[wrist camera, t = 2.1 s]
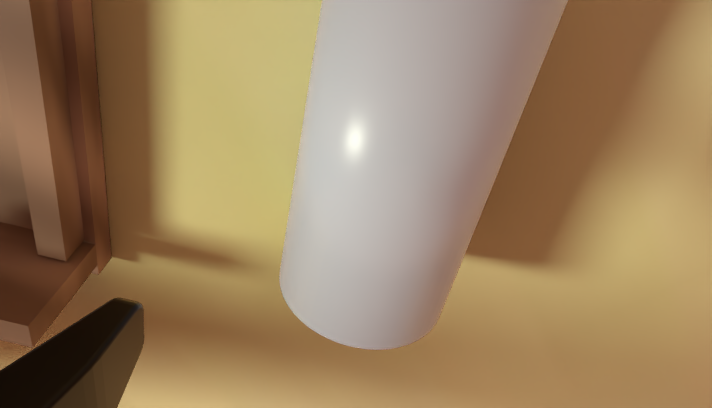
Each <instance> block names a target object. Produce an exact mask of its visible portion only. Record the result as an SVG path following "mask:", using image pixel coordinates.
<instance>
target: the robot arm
mask: <svg viewBox="0 0 712 408" xmlns="http://www.w3.org/2000/svg"><path fill="white" fill-rule="evenodd" d="M143 343H144V311H143V306H142V304H141V303H139V302H136V301H132V300H128V299H123V298H114V299H112V300H110V301H109V302H107V303H105V304H104V305H102V306H101V307H99V308H98V309H96V310H94V311H93V312H91V313H90V314H88V315H87V316H85V317H83V318H82V319H80V320H79V321H77V322H76V323H74V324H73V325H71V326H69V327H68V328H66V329H65V330H63V331H62V332H60V333H58V334H57V335H55V336H54V337H52V338H51V339H49V340H47V341H46V342H44V343H43V344H41V345H40V346H38V347H37V348H35V349H33V350H32V351H30V352H29V353H27V354H26V355H24V356H22V357H21V358H19V359H18V360H16V361H15V362H13V363H11V364H10V365H8V366H7V367H5V368H4V369H2V370H1V371H0V408H117V407H118V404H119V402H120V400H121V397H122V395H123V393H124V390H125V388H126V386H127V383H128V381H129V379H130V376H131V374H132V372H133V369H134V367H135V365H136V362H137V360H138V358H139V355H140V353H141V350H142V347H143Z"/></svg>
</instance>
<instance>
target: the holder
mask: <svg viewBox="0 0 712 408" xmlns="http://www.w3.org/2000/svg"><path fill="white" fill-rule="evenodd" d="M110 259H111V245H110V233H109V220H108V207H107V195H106V182H105V169H104V157H103V144H102V131H101V119H100V106H99V93H98V80H97V68H96V55H95V42H94V30H93V17H92V4H91V0H0V340H2V341H7V342H11V343H15V344H19V345H23V346H28V347H32V348H33V347H34V345H35V344H36V343H37V342H38V340H39V339H40V338H41V336H42V335H43V334H44V333H45V331H46V330H47V329H48V328H49V326H50V325H51V324H52V322H53V321H54V320H55V319H56V317H57V316H58V315H59V313H60V312H61V311H62V310H63V308H64V307H65V306H66V305H67V303H68V302H69V301H70V299H71V298H72V297H73V296H74V294H75V293H76V292H77V291H78V289H79V288H80V287H81V285H82V284H83V283H84V282H85V280H86V279H87V278H88V276H89V275H90V274H91V273H94V274H98V275H99V273H100V272H101V271H102V269H103V268H104V267H105V266H106V264H107V263H108V262H109V260H110Z"/></svg>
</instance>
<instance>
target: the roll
mask: <svg viewBox="0 0 712 408" xmlns="http://www.w3.org/2000/svg"><path fill="white" fill-rule="evenodd" d="M567 2H568V0H322V4H321V10H320V17H319V23H318V30H317V36H316V42H315V49H314V55H313V62H312V68H311V74H310V81H309V87H308V94H307V100H306V107H305V113H304V119H303V126H302V132H301V139H300V145H299V151H298V158H297V164H296V171H295V177H294V184H293V190H292V196H291V203H290V209H289V216H288V222H287V228H286V235H285V241H284V248H283V254H282V261H281V267H280V276H279V282H280V288H281V291H282V295H283V297H284V299H285V301H286V303H287V305H288V306H289V308H290V309H291V310H292V312H293V313H294V314H295V315H296V316H297V317H298V318H299V320H300V321H302V322H303V323H304V324H305V325H306V326H308V327H309V328H310V329H312V330H313V331H315V332H316V333H318V334H320V335H322V336H324V337H326V338H328V339H330V340H332V341H335V342H337V343H340V344H343V345H347V346H350V347H355V348H361V349H372V350H382V349H392V348H398V347H402V346H405V345H409V344H411V343H413V342H415V341H417V340H419V339H420V338H422V337H424V336H425V335H426V334H427V333H428V332H429V331H431V330H432V328H433V327H434V326H435V324H436V323H437V321H438V319H439V317H440V314H441V312H442V309H443V307H444V305H445V302H446V300H447V297H448V295H449V292H450V290H451V287H452V285H453V282H454V280H455V278H456V275H457V273H458V270H459V268H460V265H461V263H462V260H463V258H464V255H465V253H466V250H467V248H468V246H469V243H470V241H471V238H472V236H473V233H474V231H475V228H476V226H477V223H478V221H479V218H480V216H481V214H482V211H483V209H484V206H485V204H486V201H487V199H488V196H489V194H490V191H491V189H492V186H493V184H494V182H495V179H496V177H497V174H498V172H499V169H500V167H501V164H502V162H503V159H504V157H505V154H506V152H507V150H508V147H509V145H510V142H511V140H512V137H513V135H514V132H515V130H516V127H517V125H518V122H519V120H520V118H521V115H522V113H523V110H524V108H525V105H526V103H527V100H528V98H529V95H530V93H531V90H532V88H533V86H534V83H535V81H536V78H537V76H538V73H539V71H540V68H541V66H542V63H543V61H544V58H545V56H546V54H547V51H548V49H549V46H550V44H551V41H552V39H553V36H554V34H555V31H556V29H557V26H558V24H559V22H560V19H561V17H562V14H563V12H564V9H565V7H566V4H567Z"/></svg>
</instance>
